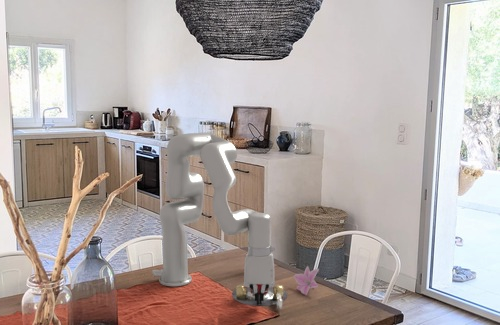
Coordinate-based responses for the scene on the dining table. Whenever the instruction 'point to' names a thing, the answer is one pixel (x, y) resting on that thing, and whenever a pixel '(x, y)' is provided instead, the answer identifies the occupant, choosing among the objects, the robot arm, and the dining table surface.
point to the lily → (306, 280)
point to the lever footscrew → (278, 295)
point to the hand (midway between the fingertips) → (259, 302)
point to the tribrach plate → (247, 297)
